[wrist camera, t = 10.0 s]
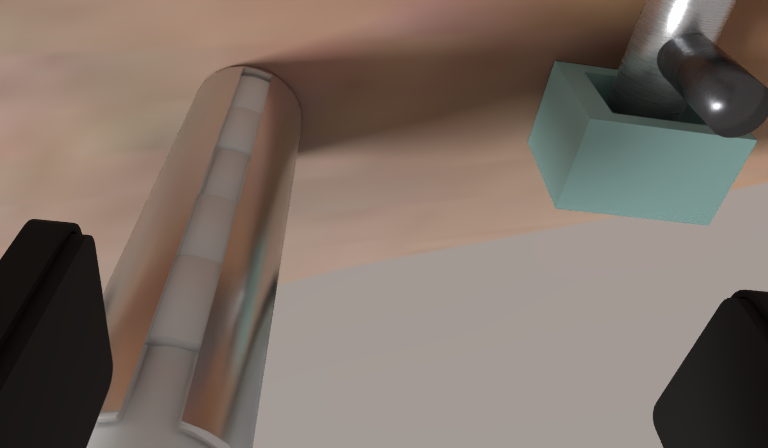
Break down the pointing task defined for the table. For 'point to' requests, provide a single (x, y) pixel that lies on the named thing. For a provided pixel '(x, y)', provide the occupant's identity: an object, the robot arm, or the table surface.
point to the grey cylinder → (203, 273)
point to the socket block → (628, 154)
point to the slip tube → (687, 69)
